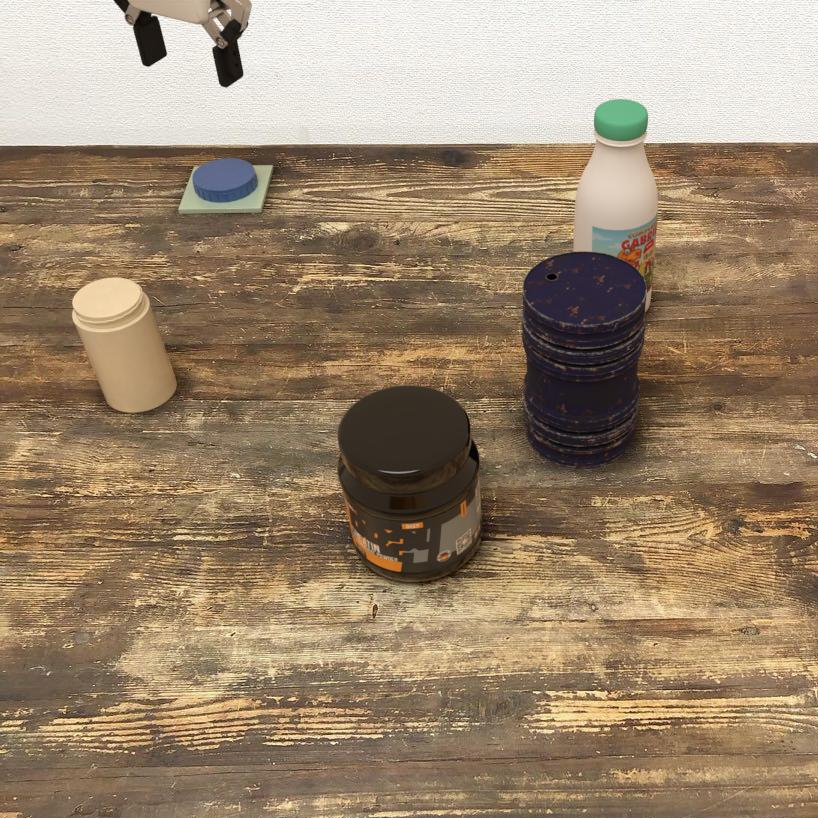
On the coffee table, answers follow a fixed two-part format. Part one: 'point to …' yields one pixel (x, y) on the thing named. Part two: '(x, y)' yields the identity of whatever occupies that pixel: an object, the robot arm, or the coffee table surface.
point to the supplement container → (410, 482)
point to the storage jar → (582, 356)
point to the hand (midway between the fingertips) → (193, 71)
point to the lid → (224, 180)
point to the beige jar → (124, 344)
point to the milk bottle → (619, 191)
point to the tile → (245, 205)
